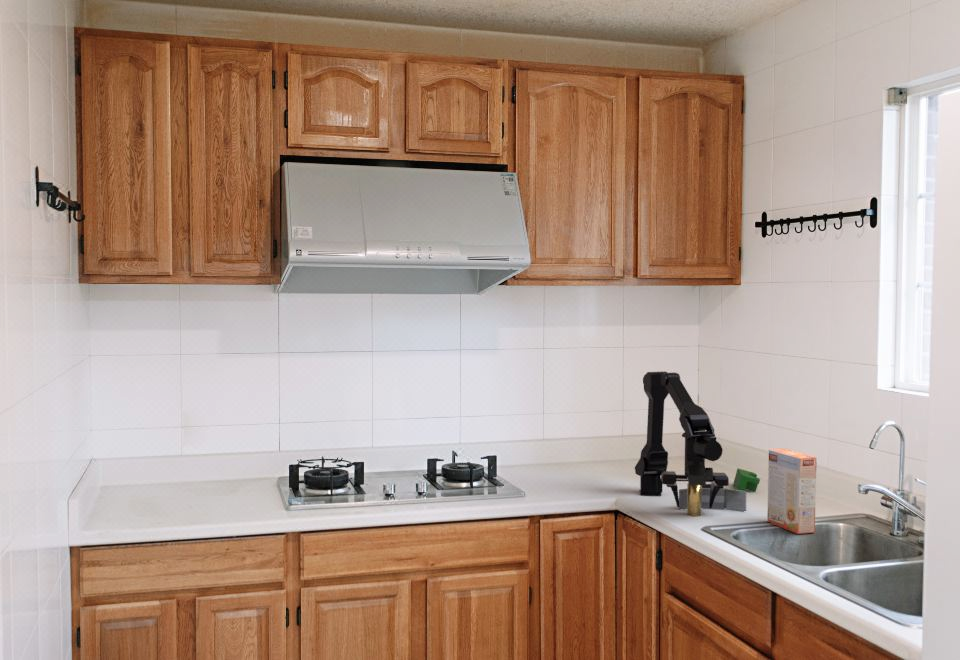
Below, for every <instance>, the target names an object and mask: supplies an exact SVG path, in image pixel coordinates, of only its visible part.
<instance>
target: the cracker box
mask: <svg viewBox="0 0 960 660" xmlns="http://www.w3.org/2000/svg"><path fill="white" fill-rule="evenodd" d="M767 470H768V473H767V475H768V478H767V481H768V482H767V519H766V520H767V522H768V523H769V522H770V524H772V525H775V526H777V527H780V528H782V529H784V530H787V531H789V532H792V533H794V534H796V535H801V534H814V533H815V532H816V499H817V497H816V495H817V493H816V492H817V457H816V456H813V455H810V454H805V453H801V452H799V451H798V452H797V451H795V450H790V449H787V448H777V449H776V448H775V449H774V448H773V449H768V469H767Z"/></svg>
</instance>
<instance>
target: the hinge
mask: <svg viewBox="0 0 960 660" xmlns="http://www.w3.org/2000/svg"><path fill="white" fill-rule="evenodd" d="M710 489H711V483H706V484H705V485H701V508H703V509H705V510H706V509H707V510H708V509H709V510H731V509H732V511H737V510H738V512H739V511H740V512H744V511H746V512H747V502H748V501H747V497H748V496H747V494H748V493H747V491H748V490H745V491H742V490H736V488H734V489H733V488H727V487H724V488H723V489H720V490H719V491H718V493H717V494H716V497H715V499H714V502H713V505H712V508H709V499H710ZM678 498H679V508H678V510H680V509H683V510H687V488H679V489H678ZM724 508H726V509H724ZM703 509H702V510H703Z"/></svg>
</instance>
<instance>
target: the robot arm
mask: <svg viewBox="0 0 960 660" xmlns="http://www.w3.org/2000/svg"><path fill="white" fill-rule="evenodd" d="M680 375H681V374H680V373H679V372H668V371H665V370H664V371H647V372H646V373H645V374H644V375H643V377H642V383H643V391H644V393H645V395H646V397H647V398H648V405H647V408H648V409H647V427H646V443H645V445H644V446H643V448H642V449H641V451H640V457H639V459H638V461H637V463H636V465H635V466H634V472H635V475H637V476H639V477H640V479H639V481H640V482H639V483H640V484H639V488H640V489H639V493H640V496H653V495H656V496H658V495H660V496H659V497H661V496H662V493H663V485H665V486H666V487H667V488H670V489H671V491H672V493H673V497H674V500H675V504H676V508H678V509H679V489H678V484H677V482H688V483H689V484H690V485H705V484H707V483H710V484H711V489H710V499H709V508H712V505H713V502H714V499H715V497H716V494H717V493H718V491H719V490H720V489H723V488H725V487H729V486H730V480H729V479H730V478H729V477H728V475H727V474H726V472H714V468H713V467H706V465H705V464H706V460H707V461H710V462H716V461H718V460H719V459H720V458H721V457H722V455H723V448H722V445H721V443H720V442H719V441H717V436H716V434H715V429H714V426H713V423H712V421H711V419H710V417H709V415H708V414H707V412H706V411H705V410H704V408H703V407H701V406H700V405H697V404H695V402H694V400H693V399H692V396H691V395H690V394H689V391H687V389H686V387H685V385H684V384H683V382H682V380H681V376H680ZM668 395H669V396H670V398H671V399H672V401H673V403H674V405H675V407H676V408H677V409H678V412H679V417H678V418H679V419H678V421H679V423H680V426H681V428H682V429H683V433H682V434H681V437H682V438H684V474H677V472H676V471H672V470H671V471H667V469H668V466H669V459H668V458H669V452H668V451H667V450H666V449H665V448H664V445H663V438H664V437H663V436H664V414H665V400H666V398H667V397H668ZM688 483H687V484H688ZM656 496H655V497H656Z"/></svg>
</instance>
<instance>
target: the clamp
mask: <svg viewBox="0 0 960 660" xmlns="http://www.w3.org/2000/svg"><path fill="white" fill-rule="evenodd" d="M760 482H761V478H759V477H758V475H757V473H755V472H752V471H749V470H745V469H742V468H737V469H736V473H735V477H734V481H733V486H734V489H735V490H742V491H751V492H755V493H756V491H757V489H758V486H759V484H760Z"/></svg>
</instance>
